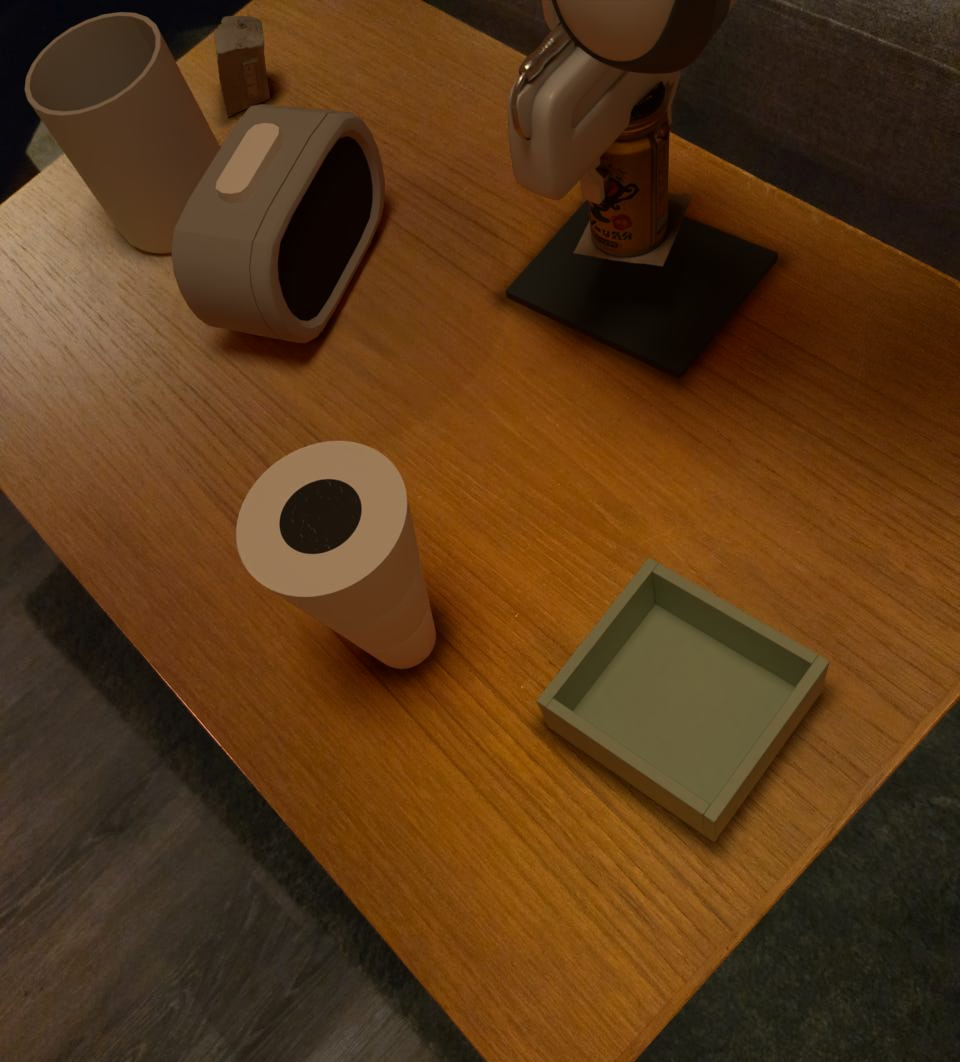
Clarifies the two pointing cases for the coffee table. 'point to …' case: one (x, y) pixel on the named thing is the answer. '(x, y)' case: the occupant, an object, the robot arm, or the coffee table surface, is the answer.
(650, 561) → the tray
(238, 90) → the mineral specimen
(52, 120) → the cup
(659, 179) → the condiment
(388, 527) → the cup
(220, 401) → the coffee table surface
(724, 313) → the mat
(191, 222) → the alarm clock
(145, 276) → the coffee table surface
